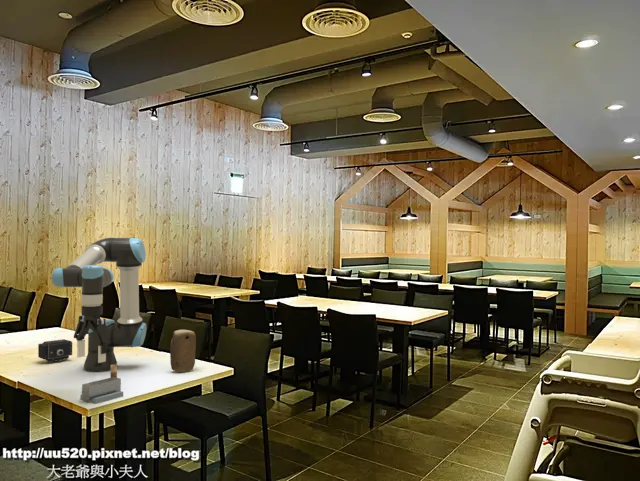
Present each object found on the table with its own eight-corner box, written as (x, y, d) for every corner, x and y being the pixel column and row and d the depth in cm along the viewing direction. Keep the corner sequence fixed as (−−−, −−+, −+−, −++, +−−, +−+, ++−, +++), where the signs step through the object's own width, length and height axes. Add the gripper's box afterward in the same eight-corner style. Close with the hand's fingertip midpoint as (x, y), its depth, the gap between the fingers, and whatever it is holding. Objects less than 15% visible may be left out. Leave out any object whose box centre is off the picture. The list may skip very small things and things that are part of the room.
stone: (175, 374, 238) (176, 332, 239) (167, 371, 243) (168, 330, 244) (197, 370, 247) (197, 329, 247) (189, 368, 252) (190, 327, 252)
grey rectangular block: (113, 390, 207) (113, 376, 207) (120, 392, 205) (120, 378, 205) (81, 398, 195) (82, 384, 196) (88, 400, 193) (89, 386, 193)
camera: (63, 360, 269) (34, 361, 257) (66, 338, 270) (36, 339, 258) (73, 363, 262) (43, 365, 250) (76, 341, 263) (46, 341, 252)
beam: (116, 381, 224) (116, 364, 224) (116, 390, 210) (117, 372, 210) (110, 382, 223) (110, 364, 223) (110, 391, 209) (110, 372, 209)
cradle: (107, 392, 208) (107, 387, 208) (123, 396, 202) (123, 391, 203) (80, 399, 198) (80, 394, 198) (95, 403, 192) (96, 399, 192)
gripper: (120, 306, 193) (119, 362, 193) (82, 301, 206) (81, 353, 206) (103, 309, 186) (102, 366, 187) (64, 303, 200) (63, 356, 200)
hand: (91, 359), depth 197 cm, fingers open, 13 cm apart
